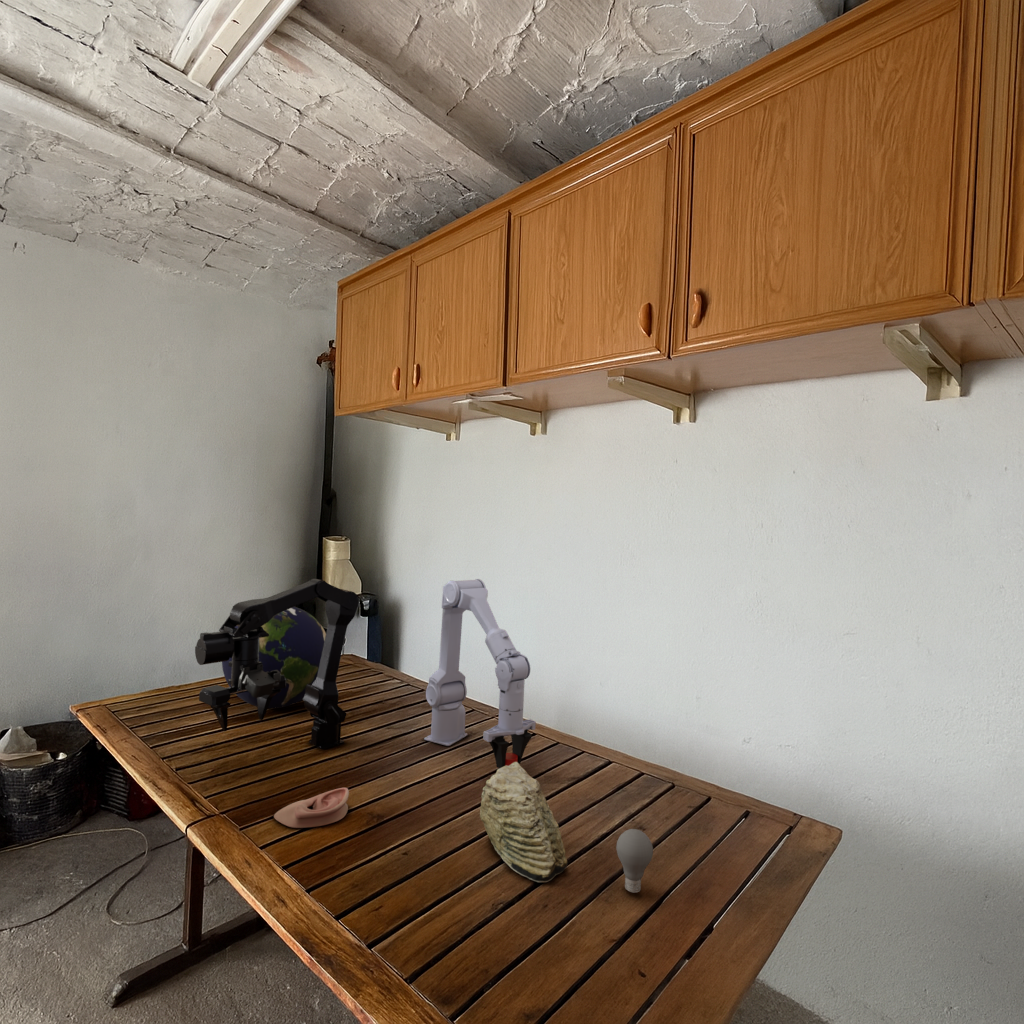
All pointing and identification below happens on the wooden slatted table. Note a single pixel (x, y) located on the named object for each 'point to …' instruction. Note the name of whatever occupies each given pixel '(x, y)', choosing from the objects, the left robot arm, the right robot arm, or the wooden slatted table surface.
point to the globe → (288, 655)
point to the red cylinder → (511, 758)
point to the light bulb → (634, 857)
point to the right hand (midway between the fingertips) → (508, 765)
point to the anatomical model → (315, 810)
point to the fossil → (522, 824)
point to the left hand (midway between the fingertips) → (243, 725)
